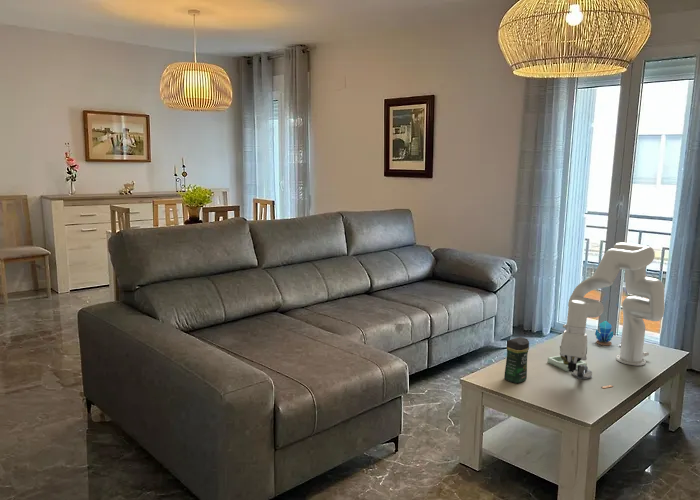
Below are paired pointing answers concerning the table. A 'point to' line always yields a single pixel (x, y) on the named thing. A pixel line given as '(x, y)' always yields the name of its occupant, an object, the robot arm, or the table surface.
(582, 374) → the crank
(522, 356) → the coffee jar
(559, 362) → the tray
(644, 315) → the robot arm
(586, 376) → the crank base
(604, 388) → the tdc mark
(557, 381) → the table surface
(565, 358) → the ornate brass lampshade
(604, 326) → the gemstone
